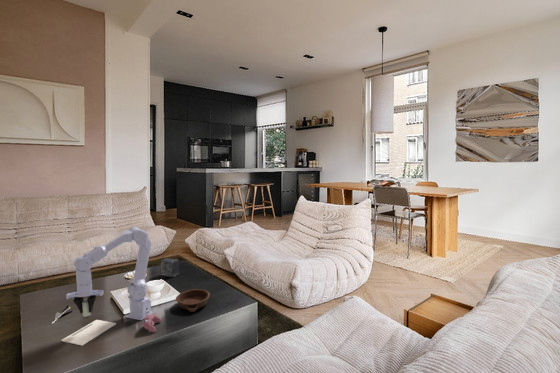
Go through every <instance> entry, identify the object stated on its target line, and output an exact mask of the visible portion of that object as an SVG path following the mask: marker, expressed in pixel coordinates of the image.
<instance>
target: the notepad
mask: <svg viewBox="0 0 560 373" xmlns="http://www.w3.org/2000/svg"><path fill="white" fill-rule="evenodd" d="M115 325H117V323H116V322H111V321H107V320H100V319H95V320H93V321H92V322H90V323H89V324H87V325H85V326H83V327H81V328H80V329H78V330H77V331H75V332H73V333H71V334H69V335H68V336H66V337H64V338H62V339H60V340H61V341H60V342H64V343H68V344H73V345H77V346H82V347H83V346H84V345H86V344H87V343H88V342H90V341H92V340H94V339H95V338H97V337H98V336H100V335H101V334H103V333H105V332H106V331H108V330H109V329H110V328H113V327H114V326H115Z"/></svg>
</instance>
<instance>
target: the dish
mask: <svg viewBox="0 0 560 373" xmlns="http://www.w3.org/2000/svg"><path fill="white" fill-rule="evenodd" d="M210 295H211V294H210V291H208V290H206V289H204V288H203V289H202V288H200V289H198V288H193V289H188V290H185V291H183V292H180V293H179V294H178V295H177V296H176V298H175V301H176V302H177V303H178V306H179V307H180V308H181V309H183V310H186V311H188V312H190V313H193V312H196V311H197V310H198V309H201V308H203V307H204V306H205V305H207V303H208V301H209V297H210Z"/></svg>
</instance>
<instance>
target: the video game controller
mask: <svg viewBox="0 0 560 373" xmlns="http://www.w3.org/2000/svg"><path fill="white" fill-rule="evenodd" d="M155 323H162V318H160V317H159V316H157V315H156V314H154V313H151V314H149V315H147V316H146V317H145V318H144V319H143V323H142V326H143V328H144V329H145V330H147V331H149V332H150V333H155V332H157V328H156V327H155V326H154V325H155Z"/></svg>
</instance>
